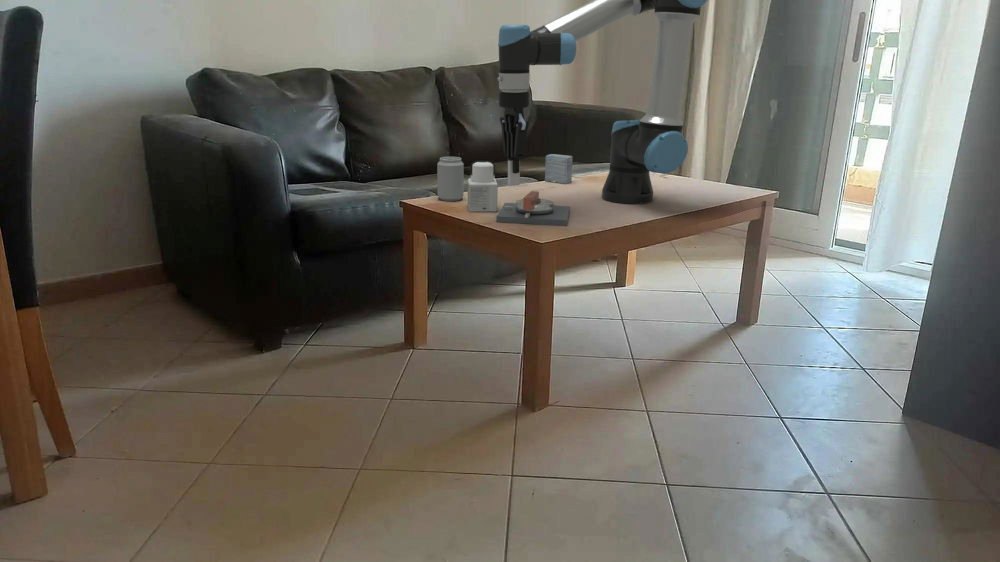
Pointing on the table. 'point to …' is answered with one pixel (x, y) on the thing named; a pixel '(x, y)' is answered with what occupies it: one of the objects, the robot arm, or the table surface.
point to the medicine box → (558, 168)
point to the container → (482, 187)
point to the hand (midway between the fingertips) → (513, 184)
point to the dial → (534, 204)
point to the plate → (533, 216)
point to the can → (450, 178)
